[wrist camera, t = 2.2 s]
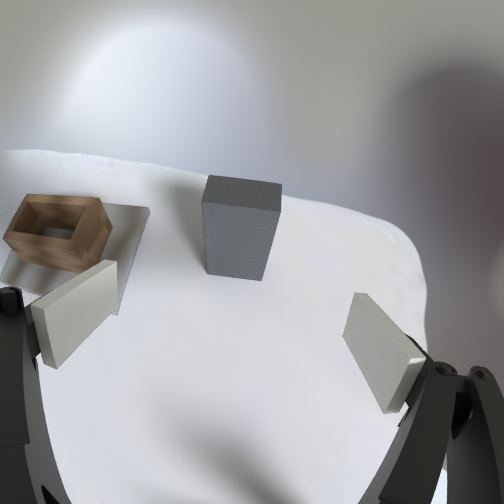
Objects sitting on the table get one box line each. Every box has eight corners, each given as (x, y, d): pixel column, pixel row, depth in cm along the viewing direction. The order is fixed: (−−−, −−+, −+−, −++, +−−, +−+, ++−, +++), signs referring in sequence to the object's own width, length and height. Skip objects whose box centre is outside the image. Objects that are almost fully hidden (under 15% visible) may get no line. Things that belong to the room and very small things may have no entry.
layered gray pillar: (207, 274, 31) (201, 202, 21) (211, 251, 33) (208, 175, 23) (261, 281, 31) (280, 211, 21) (263, 257, 33) (281, 184, 23)
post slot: (2, 283, 27) (-24, 259, 21) (40, 203, 34) (22, 174, 29) (117, 315, 28) (94, 291, 22) (150, 212, 35) (139, 176, 29)
